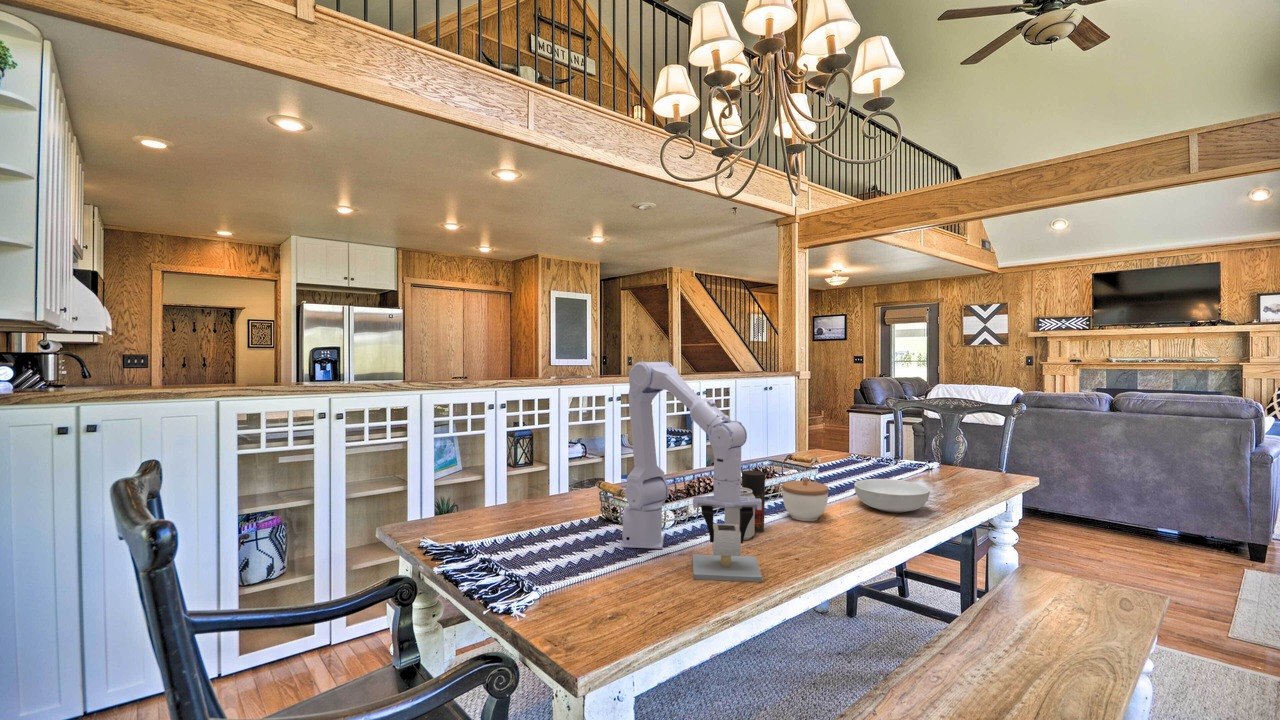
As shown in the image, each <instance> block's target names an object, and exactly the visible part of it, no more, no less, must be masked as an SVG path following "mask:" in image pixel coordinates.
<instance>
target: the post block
mask: <svg viewBox="0 0 1280 720" xmlns="http://www.w3.org/2000/svg"><path fill="white" fill-rule="evenodd" d="M692 574H693V575H692V576H693V577H692V578H693V580H701V581H702V580H703V581H705V580H706V581H727V582H729V581H730V582H732V581H733V582H750V583H751V582H752V583H753V582H754V583H763V575H762V572H761V569H760V566H759V563H758V561H757V557H756V556H751V555H740V556H725V555H714V554H703V553H702V554H701V553H700V554H698V553H692Z"/></svg>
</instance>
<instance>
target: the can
mask: <svg viewBox="0 0 1280 720" xmlns="http://www.w3.org/2000/svg"><path fill="white" fill-rule="evenodd" d="M752 492H753V491H752V490H751V489H748V488H743V487H742V486H741V497H746V498H755V496H754V495H753V494H752ZM724 524H738V525H739V528H740V508H724ZM754 529H755V509H753V517H752V519H751V520H750V522H749V524H748V526H747V529H746V532H745V535H744V540H743V541H747V540H750V539H752V537H753V536H755V533H754Z"/></svg>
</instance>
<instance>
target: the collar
mask: <svg viewBox="0 0 1280 720" xmlns="http://www.w3.org/2000/svg"><path fill="white" fill-rule="evenodd" d="M713 536H714V540H713V542H711V544H712V553H713V554H712V555H725V556H742V555H741V551H742V550H741V548H742V547H741V544H742V543H741V531H740V528H739V525H738V524H725V523H713Z"/></svg>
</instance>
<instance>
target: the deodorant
mask: <svg viewBox="0 0 1280 720" xmlns="http://www.w3.org/2000/svg"><path fill="white" fill-rule="evenodd" d="M741 487H743V488H748V489H751V490H752V491H753V492H752V494H753V495H754V496H755V499H761V501H762V510H756V509H755V529H754V534H760V533H761V534H762V533H763V532H764V531H765V504H766V502H765V499H766V498H765V497H766V493H765V492H766V473H765V472H764V471H761V470H760V471H759V470H751V469H750V470H743V471H741Z"/></svg>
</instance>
